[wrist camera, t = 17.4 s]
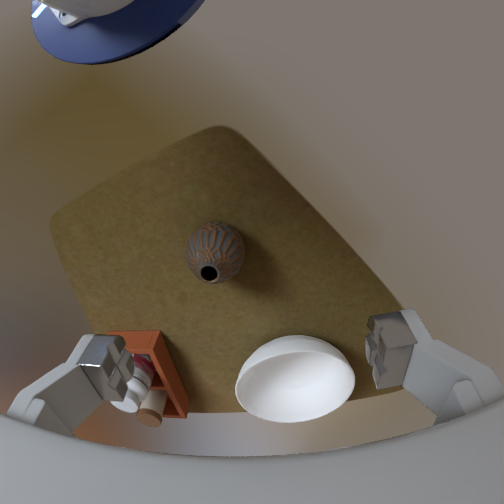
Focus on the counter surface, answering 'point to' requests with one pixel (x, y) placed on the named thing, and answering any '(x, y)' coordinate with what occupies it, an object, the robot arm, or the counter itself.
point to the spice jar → (152, 408)
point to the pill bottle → (138, 383)
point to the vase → (215, 252)
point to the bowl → (294, 380)
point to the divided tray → (159, 369)
